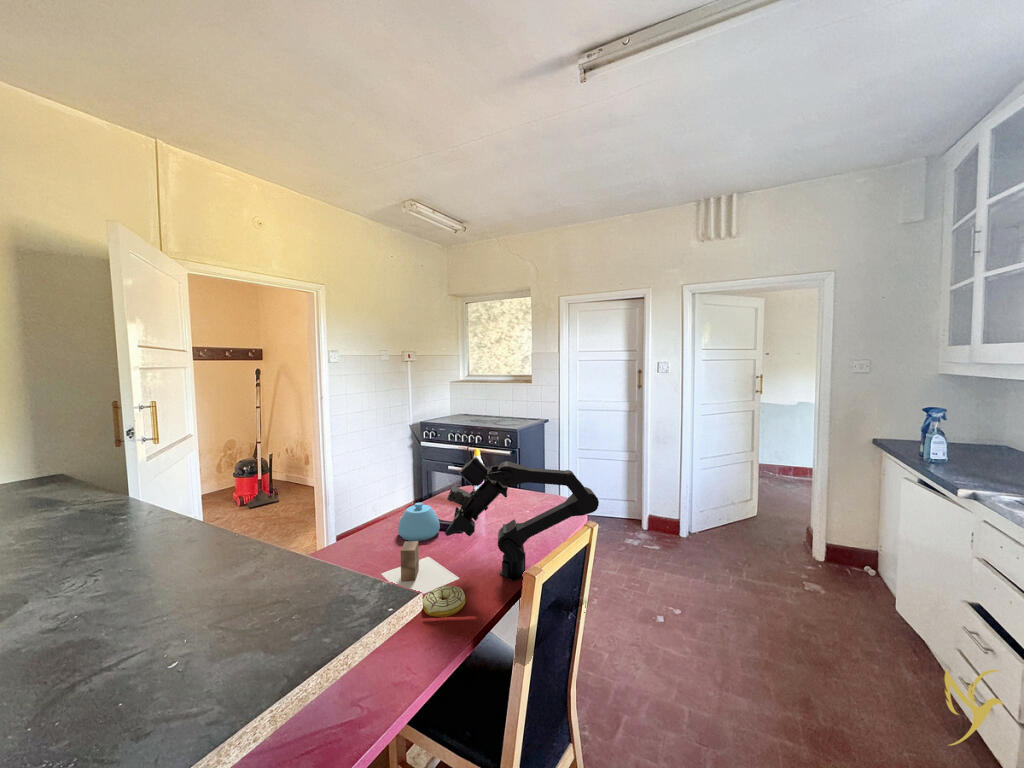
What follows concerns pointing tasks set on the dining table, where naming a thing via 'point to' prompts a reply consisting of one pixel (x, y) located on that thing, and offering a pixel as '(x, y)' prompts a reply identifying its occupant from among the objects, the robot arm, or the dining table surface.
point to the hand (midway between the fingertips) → (446, 534)
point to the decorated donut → (444, 601)
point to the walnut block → (409, 561)
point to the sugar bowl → (418, 523)
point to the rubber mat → (423, 576)
